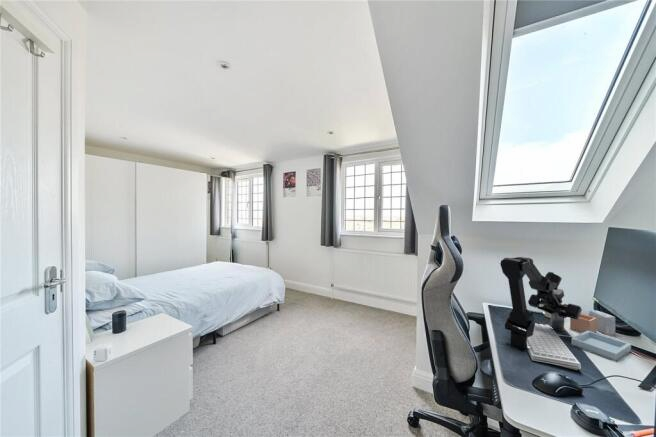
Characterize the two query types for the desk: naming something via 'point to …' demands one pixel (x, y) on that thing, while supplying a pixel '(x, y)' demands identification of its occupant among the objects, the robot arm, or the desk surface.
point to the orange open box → (583, 324)
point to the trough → (601, 345)
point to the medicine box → (604, 322)
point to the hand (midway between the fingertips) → (558, 315)
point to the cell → (557, 320)
